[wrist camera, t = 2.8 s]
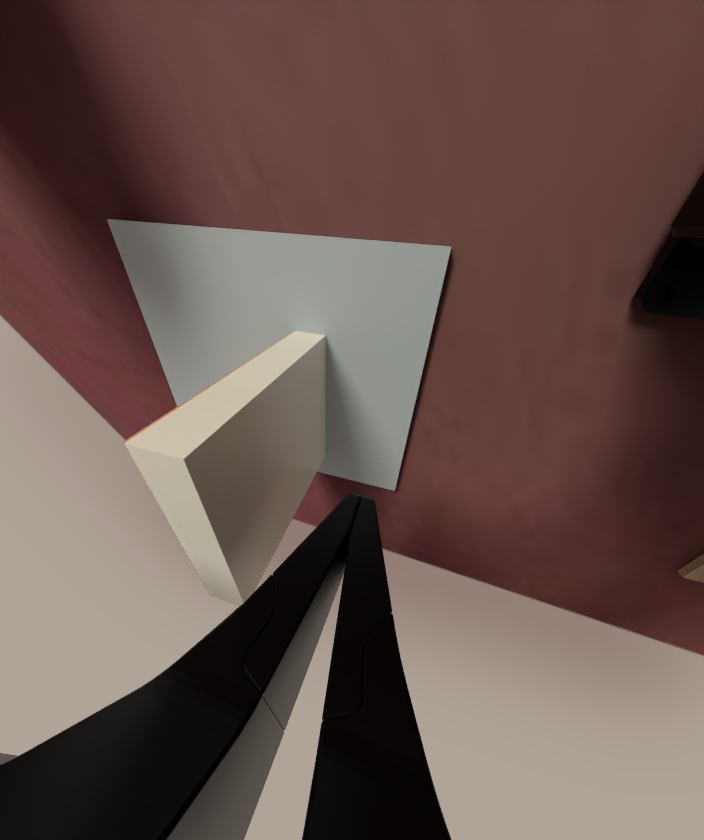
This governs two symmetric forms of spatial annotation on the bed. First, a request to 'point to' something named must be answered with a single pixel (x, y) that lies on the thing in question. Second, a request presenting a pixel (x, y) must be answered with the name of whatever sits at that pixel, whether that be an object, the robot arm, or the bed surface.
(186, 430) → the tile
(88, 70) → the bed surface
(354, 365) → the mat
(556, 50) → the bed surface
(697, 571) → the tan slab
